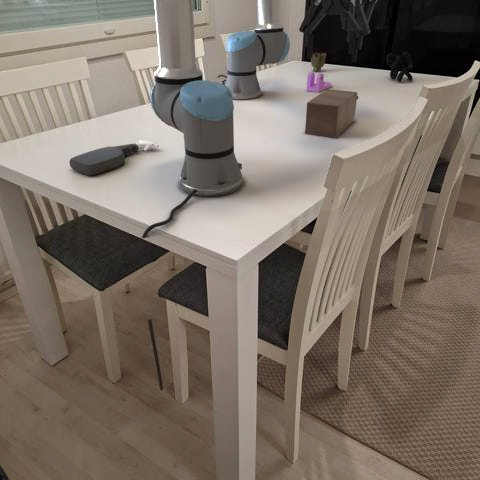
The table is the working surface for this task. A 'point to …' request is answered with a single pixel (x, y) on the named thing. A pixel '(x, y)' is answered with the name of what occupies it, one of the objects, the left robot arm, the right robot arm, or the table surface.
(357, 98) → the drawer
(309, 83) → the bracket
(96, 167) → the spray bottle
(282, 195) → the table surface
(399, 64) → the squiggle
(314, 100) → the brown rectangular box
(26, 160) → the table surface
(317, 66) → the olive tapered piece
